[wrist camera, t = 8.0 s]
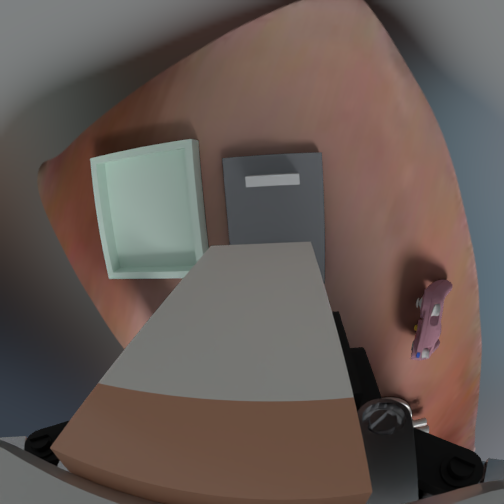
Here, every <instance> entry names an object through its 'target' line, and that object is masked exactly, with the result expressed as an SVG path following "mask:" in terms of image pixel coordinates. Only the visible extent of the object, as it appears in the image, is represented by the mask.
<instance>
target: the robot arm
mask: <svg viewBox="0 0 504 504" xmlns="http://www.w3.org/2000/svg"><path fill="white" fill-rule="evenodd" d="M332 314H333V317H334V321H335V325H336V328H337V332H338V336H339V340H340V343H341V347H342V351H343V355H344V359H345V363H346V367H347V371H348V375H349V379H350V383H351V387H352V392H353V396H354V400H355V405H356V409H357V414H358V418H359V423H360V428H361V433H362V438H363V442H364V448H365V453H366V458H367V463H368V469H369V475H370V480H371V486H372V494H371V495H370V497H369V499H368V501H367V502H366V504H504V460H499V459H490V458H488V459H487V461H486V462H484V461H481V458H480V457H479V456H478V455H477V454H476V453H475V452H473V451H471V450H469V449H466V448H464V447H461V446H458V445H456V444H453V443H451V442H448V441H446V440H443V439H441V438H438V437H436V436H434V435H431V434H429V426H428V425H427V424H426V423H427V420H426V418H421V419H418V420H413V419H412V411H411V408H410V406H409V404H408V403H407V402H406V401H404V400H402V399H400V398H394V397H385V398H381V395H380V392H379V389H378V386H377V383H376V380H375V377H374V374H373V372H372V369H371V366H370V363H369V360H368V357H367V355H366V352H365V350H364V348H363V347H359V348H350V347H349V343H348V340H347V337H346V333H345V330H344V327H343V324H342V321H341V318H340V314H339V312H332ZM68 422H69V421H67V422H64V423H60V424H57V425H54V426H50V427H47V428H43V429H40V430H38V431H35V432H34V433H32V434H31V435H30V436H29V437H28V438H26V436H21V437H4V438H0V504H163V503H159V502H155V501H151V500H147V499H143V498H140V497H136V496H133V495H130V494H126V493H123V492H120V491H117V490H114V489H111V488H108V487H105V486H103V485H100V484H97V483H94V482H92V481H89V480H87V479H84V478H82V477H80V476H77V475H75V474H73V473H70V472H69V471H68V470H67V468H66V467H65V466H64V465H63V464H62V462H61V461H60V460H59V459H58V457H57V456H56V455H55V454H54V452H53V451H52V450H51V449H50V447H51V446H52V444H53V443H54V442H55V440H56V439H57V437H58V436H59V435H60V433H61V432H62V431H63V429H64V428H65V426H66V425H67V424H68Z"/></svg>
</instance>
